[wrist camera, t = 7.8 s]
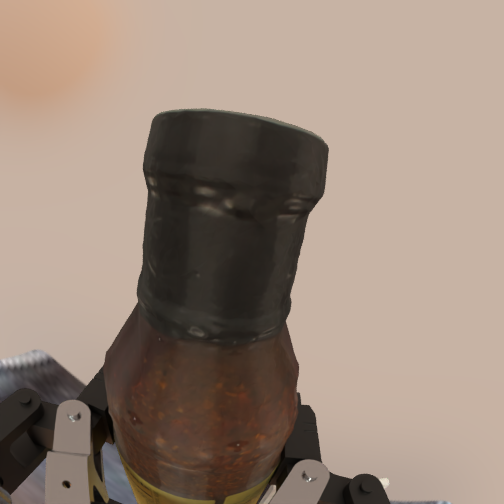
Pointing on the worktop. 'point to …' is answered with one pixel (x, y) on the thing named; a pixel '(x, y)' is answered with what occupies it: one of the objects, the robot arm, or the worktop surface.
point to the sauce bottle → (213, 307)
